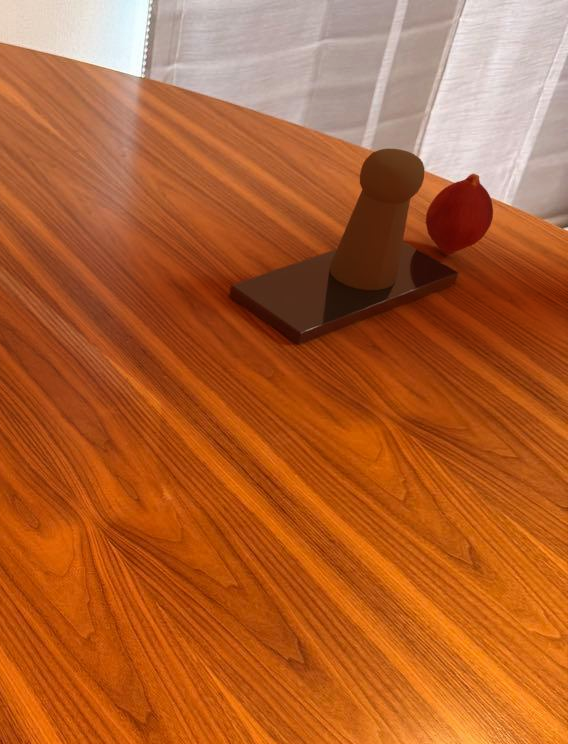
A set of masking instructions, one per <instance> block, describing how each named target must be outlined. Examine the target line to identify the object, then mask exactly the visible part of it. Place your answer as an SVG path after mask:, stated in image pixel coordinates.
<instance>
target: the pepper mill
mask: <svg viewBox="0 0 568 744" xmlns="http://www.w3.org/2000/svg"><path fill="white" fill-rule="evenodd" d="M424 180H425V165H424V162H423V160H422V159H421V158H420V157H419V156H417V155H416V154H415V153H413V152H410V151H408V150H403V149H400V148H399V149H398V148H382V149H378V150H375V151H373V152H372V153H370V154H369V156H368V157H366V158H365V160H364V162H363V163H362V165H361V168H360V172H359V185H360V187H361V191H360V194H359V196H358V197H357V198H358V199H357V201H356V204H355V206H354V208H353V210H352V213H351V215H350V216H349V219H348V222H347V224H346V227H345V229H344V231H343V234H342V236H341V239H340V241H339V243H338V246H337V248H336V249H337V250H336V252H335V255H334V257H333V259H332V262H331V264H330V269H329V270H330V272H331V275H332V276H333V277H334V278H335V279H336V280H338V281H339V282H341V283H343V284H345V285H347V286H350V287H353V288H357V289H363V290H380V289H386V288H388V287H390V286H392V285H393V284H394V283H395V282H396V278H397V272H398V266H399V260H400V255H401V249H402V243H403V242H404V237H405V230H406V226H407V219H408V214H409V208H410V204H411V203H410V202H411V199H412V198H413V197H415V195H417V193H418V192H419V191H420V189H421V188H422V186H423V183H424Z"/></svg>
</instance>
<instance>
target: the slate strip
mask: <svg viewBox="0 0 568 744" xmlns="http://www.w3.org/2000/svg"><path fill="white" fill-rule="evenodd" d="M336 250H337V248H334V249H332V250H329V251H326V252H323V253H320V254H318V255H314V256H312V257H309V258H306V259H303V260H300V261H297V262H294V263H291V264H288V265H286V266H283V267H280V268H276V269H273V270H272V271H268V272H265V273H263V274H262V273H261V274H259V275H256V276H253V277H249V278H247V279H244V280H242V281H241V280H240V281H238V282H235V283H233V284H231V285H230V288H229V294H228V297H229V298H230V299H232V300H234V302H236V303H237V304H239V305H241V306H242V307H244V309H246V310H247V311H249V312H250V313H252V314H253V315H255V316H257V317H258V318H259V319H260V320H262V321H264V322H265V323H266V324H268V325H269V326H270V327H272V328H273V329H275V330H276V331H278V332H279V333H280V334H282V335H283V336H285V337H286V338H288V339H289V340H291V341H292V342H293V343H295V344H296V345H301V344H303V343H306V342H309V341H311V340H314V339H316V338H318V337H321V336H324V335H327V334H329V333H332V332H335V331H336V330H340V329H343V328H344V327H345V328H346V327H347V326H350V325H353V324H355V323H357V322H360V321H363V320H365V319H368V318H370V317H373V316H376V315H378V314H381V313H383V312H386V311H389V310H391V309H394V308H396V307H400V306H401V305H404V304H407V303H409V302H412V301H415V300H417V299H420V298H423V297H424V296H425V297H426V296H428V295H430V294H433V293H435V292H438V291H440V290H443V289H445V288H448V287H451V286H454V285H455V284H456V283H457V279H458V277H459V275H460V272H459V271H457V270H455V269H454V268H452V267H450V266H448V265H447V264H444V263H443V262H441V261H439V260H437V259H435V258H434V257H432V256H431V255H429V254H427V253H425V252H423V251H422V250H420V249H418V248H416V247H414V246H412V245H410V244H409V243H407V242H405V241H403V243H402V249H401V255H400V260H399V266H398V272H397V278H396V282H395V283H394V284H393V285H392V286H390V287H388V288H386V289H380V290H363V289H357V288H353V287H350V286H347V285H345V284H343V283H341V282H339V281H338V280H336V279H335V278H334V277H333V276H332V275H331V272H330V270H329V269H330V264H331V262H332V259H333V257H334V255H335V252H336Z"/></svg>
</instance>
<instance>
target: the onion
mask: <svg viewBox="0 0 568 744" xmlns="http://www.w3.org/2000/svg"><path fill="white" fill-rule="evenodd" d="M493 218H494V207H493V203H492V198H491V196H490V193H489V191H488V190H487V189H486V188H485V187H484V185H482V184H481V181H480V175H479V174H477V173H471V174H469V175H467V176H466V178H465V179H462V180H458V181H456V182H454V183H451V184H449V185H447V186H446V187H445V188H443V189H441V191H440V192H439V193H437V194H436V196H435V197H434V198H433V200H432V201H431V203H430V204H429V206H428V209H427V211H426V216H425V225H426V230H427V234H428V237H430V239H431V240H432V241H433V242H434V244H435V245H436V246H437V247H438V249H439V250H440V252H441V253H442V254H444V255H452V254H454V253H457V252H459V251H462V250H464V249H466V248H469V247H471V246H473V245H475V244H476V243H478V242H479V241H480V240H482V239H483V237H484V236H485V235H486V234H487V232H488V230H489V229H490V228H491V226H492V221H493Z"/></svg>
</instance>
